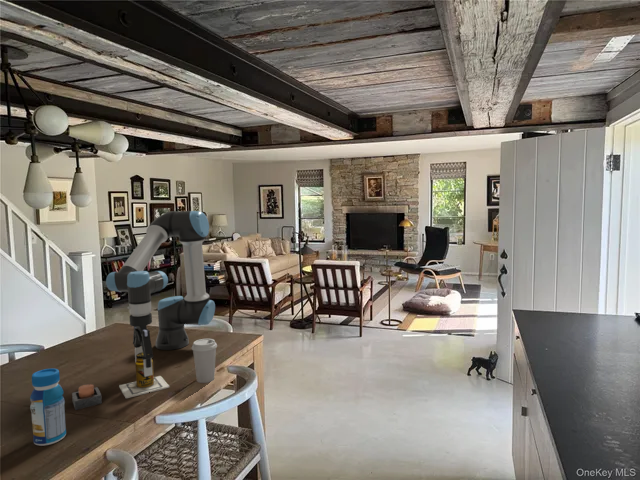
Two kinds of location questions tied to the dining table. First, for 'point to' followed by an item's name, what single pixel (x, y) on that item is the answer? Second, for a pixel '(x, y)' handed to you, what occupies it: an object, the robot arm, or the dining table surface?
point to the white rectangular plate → (133, 392)
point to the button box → (86, 400)
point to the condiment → (142, 375)
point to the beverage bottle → (47, 407)
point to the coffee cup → (204, 359)
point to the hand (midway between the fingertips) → (143, 369)
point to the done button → (86, 390)
